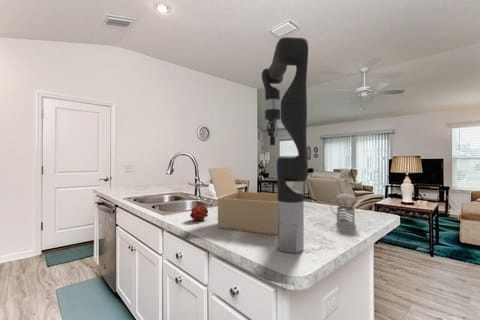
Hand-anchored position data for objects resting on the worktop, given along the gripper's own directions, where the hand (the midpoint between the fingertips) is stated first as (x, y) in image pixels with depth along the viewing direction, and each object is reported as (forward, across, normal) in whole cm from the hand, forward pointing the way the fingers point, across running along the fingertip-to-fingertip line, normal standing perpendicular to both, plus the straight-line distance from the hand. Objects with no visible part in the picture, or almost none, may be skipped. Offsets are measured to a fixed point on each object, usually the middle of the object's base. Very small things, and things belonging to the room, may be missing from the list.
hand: (272, 145), depth 118 cm
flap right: (+18, -4, -9) cm, 20 cm away
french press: (+39, +12, -32) cm, 52 cm away
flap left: (+18, -4, +24) cm, 30 cm away
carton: (+39, -4, +8) cm, 40 cm away
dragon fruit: (+39, -7, +38) cm, 55 cm away
